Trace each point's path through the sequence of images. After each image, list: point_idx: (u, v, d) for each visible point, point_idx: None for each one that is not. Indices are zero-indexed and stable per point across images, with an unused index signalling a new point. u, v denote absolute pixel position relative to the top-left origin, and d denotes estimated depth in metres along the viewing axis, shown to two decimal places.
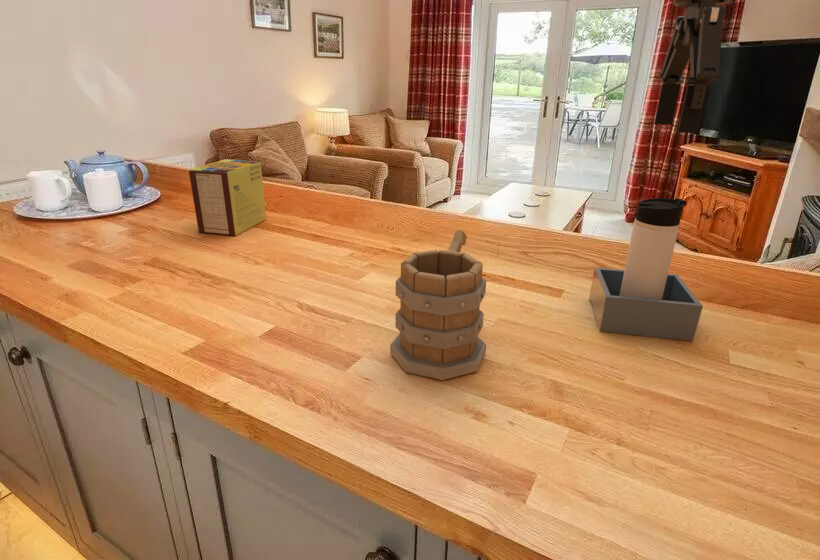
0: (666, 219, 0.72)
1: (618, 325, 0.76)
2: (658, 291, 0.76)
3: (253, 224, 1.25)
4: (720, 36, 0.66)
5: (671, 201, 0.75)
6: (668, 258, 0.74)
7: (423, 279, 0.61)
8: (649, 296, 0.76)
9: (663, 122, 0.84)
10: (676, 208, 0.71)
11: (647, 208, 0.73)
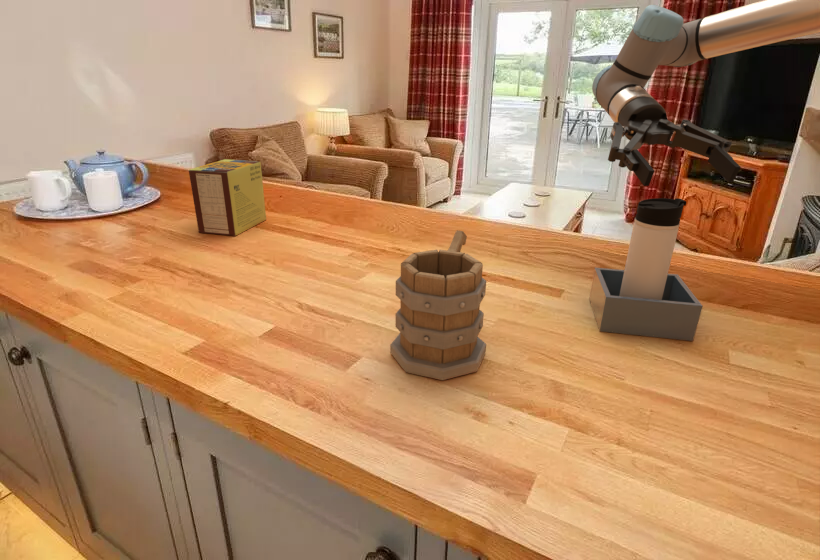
0: (666, 219, 0.72)
1: (618, 325, 0.76)
2: (658, 290, 0.76)
3: (253, 224, 1.25)
4: None
5: (671, 201, 0.75)
6: (668, 258, 0.74)
7: (423, 279, 0.61)
8: (649, 296, 0.77)
9: None
10: (676, 208, 0.71)
11: (647, 208, 0.73)
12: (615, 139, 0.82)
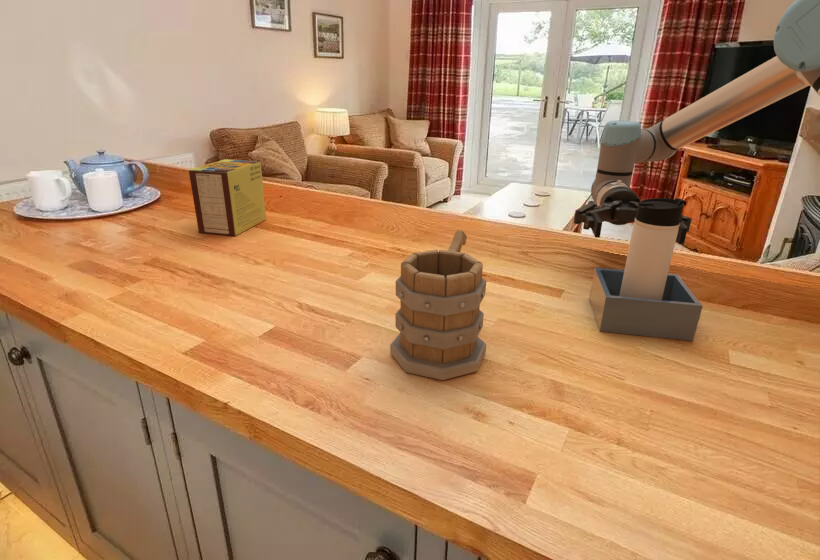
0: (666, 219, 0.72)
1: (618, 325, 0.76)
2: (658, 290, 0.76)
3: (253, 224, 1.25)
4: None
5: (671, 201, 0.75)
6: (668, 258, 0.74)
7: (423, 280, 0.61)
8: (649, 296, 0.77)
9: (600, 229, 0.85)
10: (676, 208, 0.71)
11: (647, 208, 0.73)
12: (582, 207, 0.94)
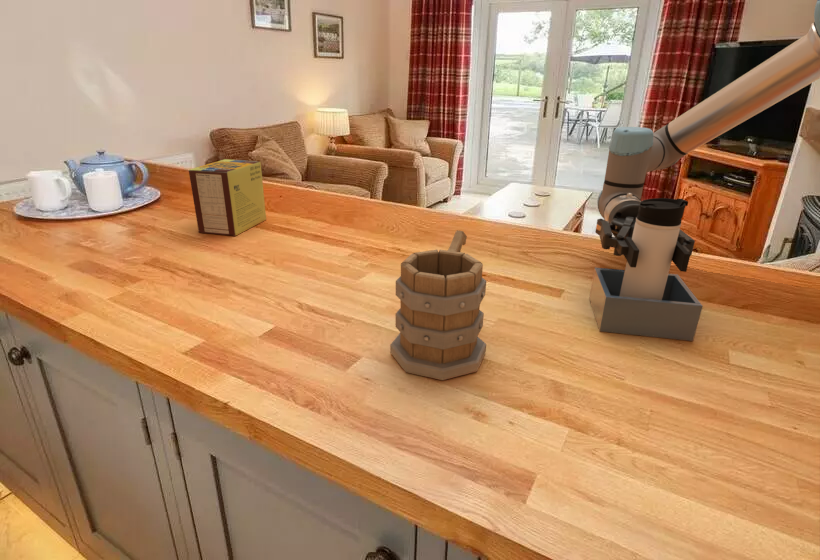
0: (668, 219, 0.72)
1: (618, 325, 0.76)
2: (658, 290, 0.76)
3: (253, 224, 1.25)
4: None
5: (673, 201, 0.75)
6: (669, 258, 0.74)
7: (423, 279, 0.61)
8: (650, 296, 0.76)
9: None
10: (678, 208, 0.71)
11: (649, 208, 0.73)
12: (605, 229, 0.82)
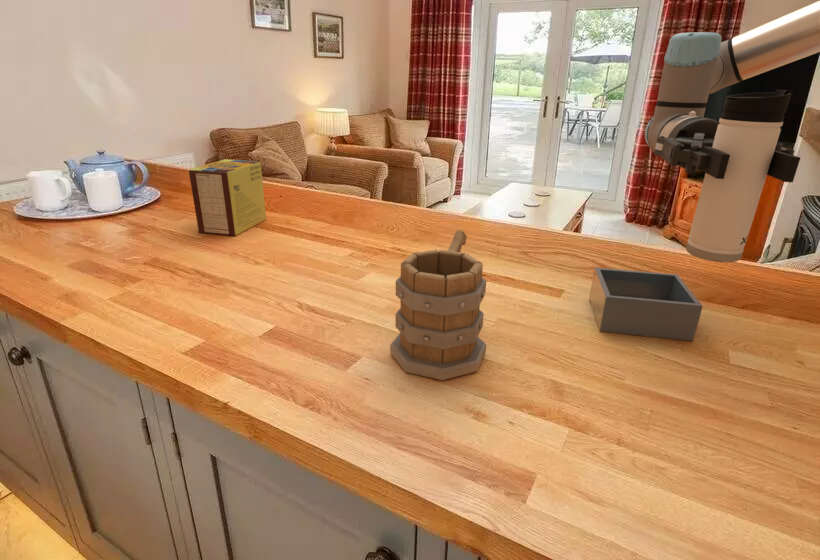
0: (769, 112, 0.54)
1: (618, 325, 0.76)
2: (749, 214, 0.58)
3: (253, 224, 1.25)
4: None
5: (769, 95, 0.57)
6: (766, 168, 0.57)
7: (423, 280, 0.61)
8: (737, 221, 0.59)
9: None
10: (783, 96, 0.53)
11: (742, 99, 0.55)
12: (672, 142, 0.64)
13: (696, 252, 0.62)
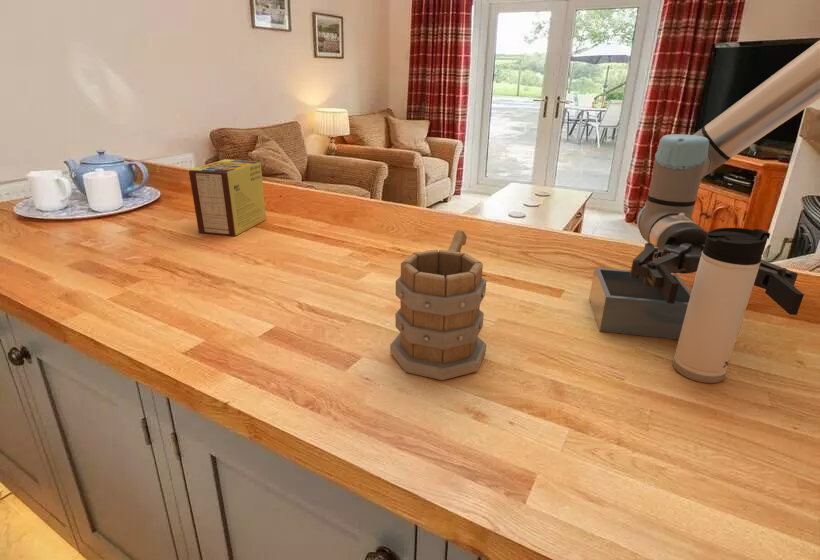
0: (746, 256, 0.57)
1: (618, 325, 0.76)
2: (730, 341, 0.62)
3: (253, 224, 1.25)
4: None
5: (748, 232, 0.61)
6: (745, 303, 0.60)
7: (423, 279, 0.61)
8: (720, 348, 0.62)
9: None
10: (759, 243, 0.57)
11: (721, 242, 0.58)
12: (640, 255, 0.70)
13: (682, 371, 0.66)
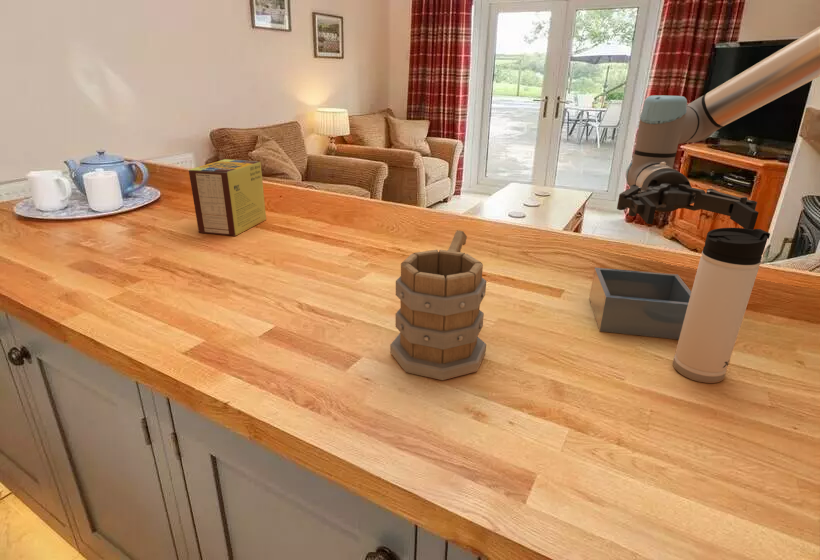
0: (746, 256, 0.57)
1: (618, 325, 0.76)
2: (730, 342, 0.62)
3: (253, 224, 1.25)
4: None
5: (748, 232, 0.61)
6: (745, 303, 0.60)
7: (423, 280, 0.61)
8: (720, 348, 0.62)
9: (653, 214, 0.73)
10: (759, 243, 0.57)
11: (721, 242, 0.58)
12: (626, 191, 0.82)
13: (682, 371, 0.66)
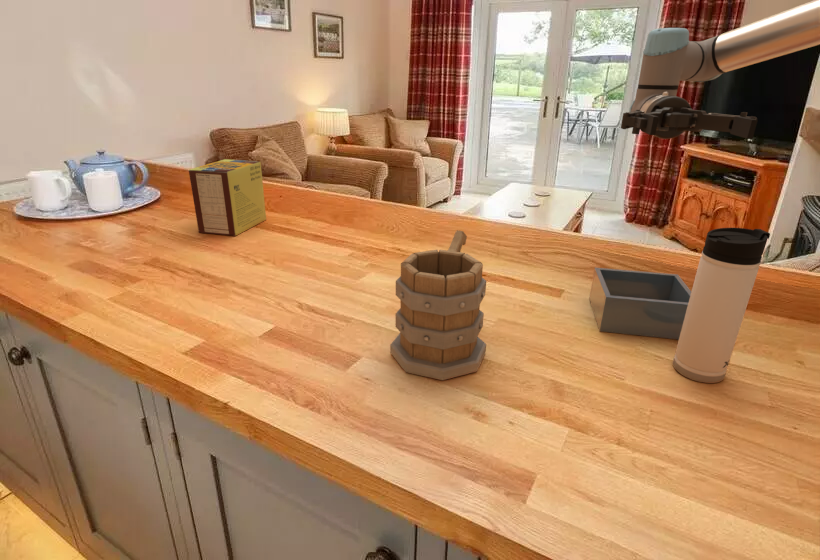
0: (746, 256, 0.57)
1: (618, 325, 0.76)
2: (730, 342, 0.62)
3: (253, 224, 1.25)
4: None
5: (748, 232, 0.61)
6: (745, 303, 0.60)
7: (423, 279, 0.61)
8: (720, 348, 0.62)
9: (656, 125, 0.75)
10: (759, 243, 0.57)
11: (721, 242, 0.58)
12: (629, 112, 0.84)
13: (682, 371, 0.66)
